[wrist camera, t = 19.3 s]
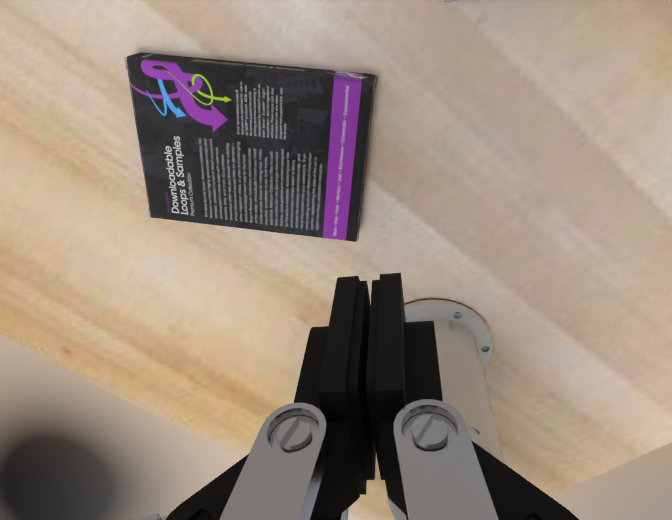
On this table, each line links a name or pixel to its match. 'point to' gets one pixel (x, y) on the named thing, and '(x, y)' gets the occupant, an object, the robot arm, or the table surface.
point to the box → (253, 143)
